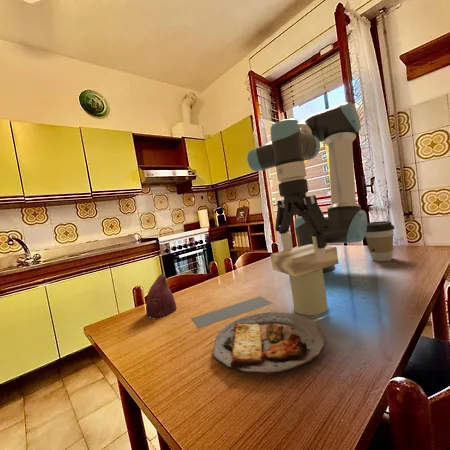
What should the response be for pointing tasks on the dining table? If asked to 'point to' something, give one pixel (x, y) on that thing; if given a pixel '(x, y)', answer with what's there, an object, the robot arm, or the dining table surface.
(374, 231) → the coffee cup
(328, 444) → the dining table surface
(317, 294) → the can
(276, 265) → the beige wavy block
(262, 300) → the mat
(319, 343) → the food plate
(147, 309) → the vegetable
